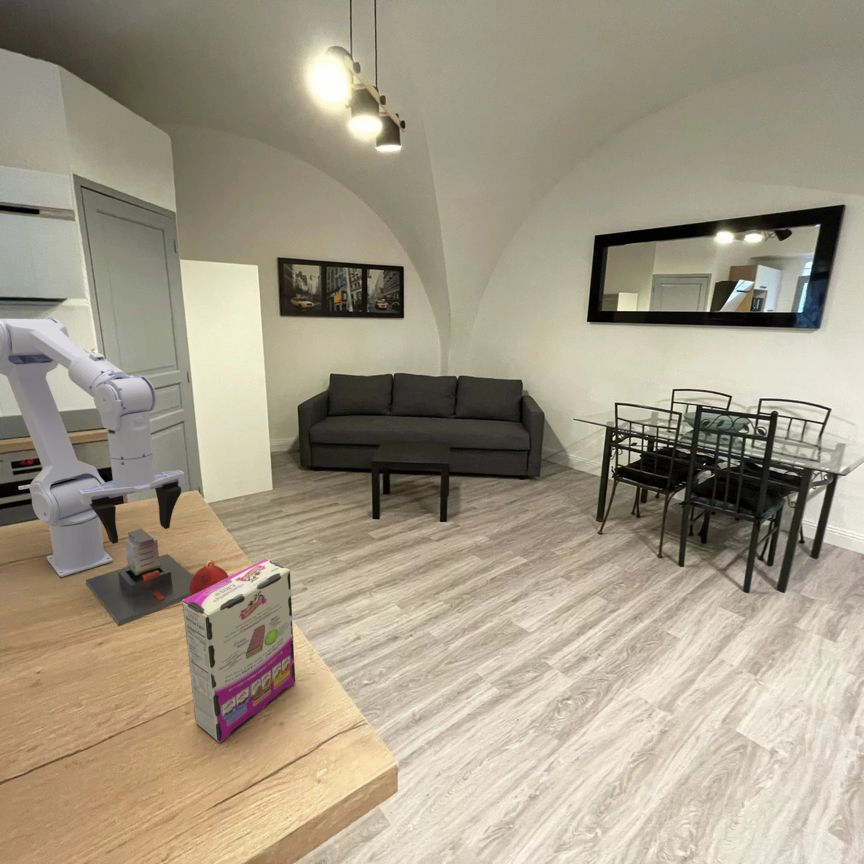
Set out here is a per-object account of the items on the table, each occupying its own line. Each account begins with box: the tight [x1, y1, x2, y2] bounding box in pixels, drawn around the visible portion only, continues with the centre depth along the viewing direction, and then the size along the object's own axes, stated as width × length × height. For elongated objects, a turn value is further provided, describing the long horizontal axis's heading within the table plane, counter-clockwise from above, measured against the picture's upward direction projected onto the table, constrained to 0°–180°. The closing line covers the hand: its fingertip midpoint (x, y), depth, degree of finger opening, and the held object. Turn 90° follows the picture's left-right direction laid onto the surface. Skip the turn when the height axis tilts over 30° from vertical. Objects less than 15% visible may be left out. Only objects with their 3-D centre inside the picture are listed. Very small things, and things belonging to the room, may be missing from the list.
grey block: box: [124, 528, 161, 575], centre depth 79 cm, size 5×4×6 cm
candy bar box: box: [181, 558, 296, 744], centre depth 56 cm, size 11×5×16 cm, turn 148°
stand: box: [85, 553, 194, 626], centre depth 81 cm, size 16×13×4 cm
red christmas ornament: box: [190, 559, 229, 596], centre depth 76 cm, size 6×6×8 cm
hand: (140, 533), depth 79 cm, fingers open, 7 cm apart
